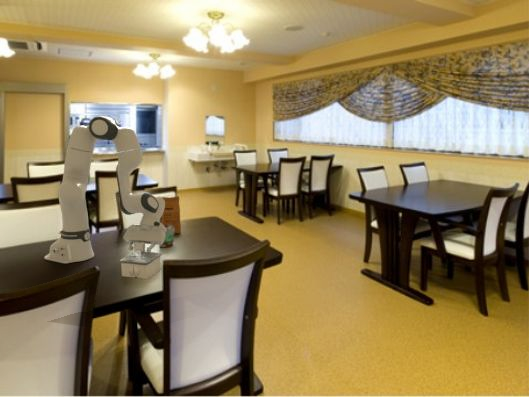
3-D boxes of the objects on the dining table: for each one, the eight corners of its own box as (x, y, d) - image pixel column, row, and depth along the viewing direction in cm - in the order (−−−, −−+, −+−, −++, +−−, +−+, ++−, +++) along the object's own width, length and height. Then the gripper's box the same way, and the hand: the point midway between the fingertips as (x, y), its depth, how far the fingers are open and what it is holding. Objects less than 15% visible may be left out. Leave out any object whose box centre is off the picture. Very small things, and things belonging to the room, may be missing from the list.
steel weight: (132, 261, 186) (131, 243, 184) (138, 257, 191) (137, 240, 189) (142, 262, 185) (141, 244, 183) (147, 258, 190) (146, 241, 188)
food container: (169, 249, 204) (168, 231, 202) (158, 248, 205) (157, 230, 203) (178, 242, 216) (178, 225, 214) (168, 242, 217) (167, 224, 215)
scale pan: (119, 262, 167) (119, 260, 166) (135, 252, 179) (135, 250, 179) (147, 264, 164) (147, 263, 164) (161, 254, 176) (161, 253, 176)
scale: (121, 276, 168) (120, 263, 167) (137, 266, 180) (136, 253, 179) (146, 279, 165) (146, 265, 164) (160, 268, 177) (160, 256, 176)
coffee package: (159, 231, 238) (157, 195, 234) (179, 229, 242) (178, 194, 238) (160, 235, 229) (158, 198, 225) (181, 233, 233) (180, 197, 229)
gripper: (127, 221, 194) (116, 245, 186) (165, 223, 189) (156, 249, 182) (132, 227, 199) (122, 251, 191) (169, 230, 194) (160, 255, 187)
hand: (139, 250), depth 187 cm, fingers open, 8 cm apart
